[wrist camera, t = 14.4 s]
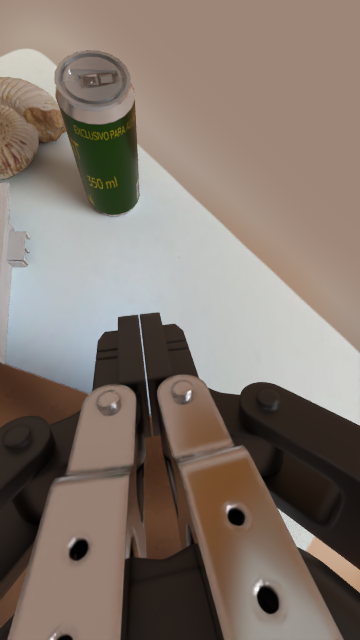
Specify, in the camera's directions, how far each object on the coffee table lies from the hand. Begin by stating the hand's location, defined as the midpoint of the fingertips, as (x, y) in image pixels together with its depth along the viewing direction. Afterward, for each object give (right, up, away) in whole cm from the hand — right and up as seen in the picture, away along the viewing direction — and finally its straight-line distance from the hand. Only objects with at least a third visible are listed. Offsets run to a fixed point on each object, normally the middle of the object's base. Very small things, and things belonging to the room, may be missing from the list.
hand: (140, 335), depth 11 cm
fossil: (-17, +20, +21) cm, 33 cm away
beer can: (-5, +13, +20) cm, 25 cm away
